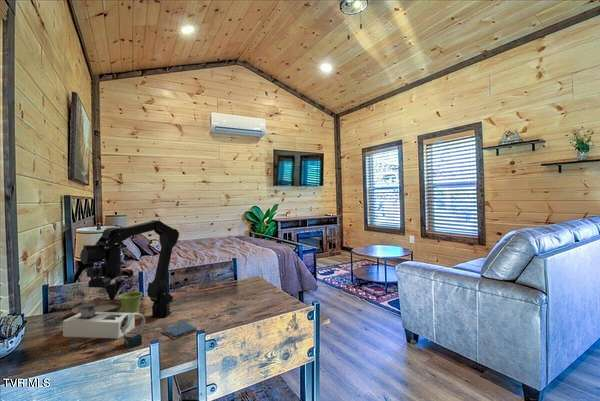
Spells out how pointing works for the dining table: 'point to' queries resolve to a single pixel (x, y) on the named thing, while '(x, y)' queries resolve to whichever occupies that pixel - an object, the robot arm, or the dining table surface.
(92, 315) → the peg
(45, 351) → the dining table surface
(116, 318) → the peg
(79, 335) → the sleeve block
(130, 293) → the plant pot
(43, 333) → the dining table surface
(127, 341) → the watch
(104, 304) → the plant saucer
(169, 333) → the woven mat
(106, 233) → the robot arm
